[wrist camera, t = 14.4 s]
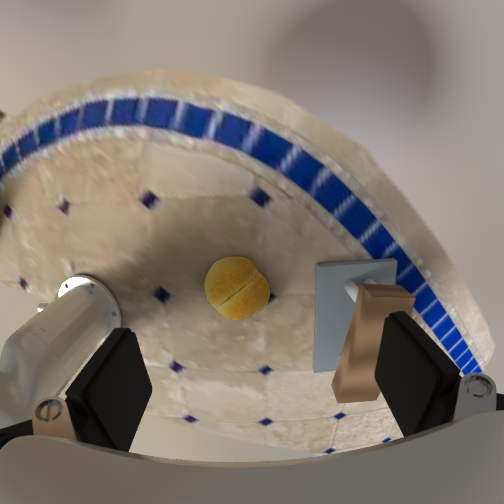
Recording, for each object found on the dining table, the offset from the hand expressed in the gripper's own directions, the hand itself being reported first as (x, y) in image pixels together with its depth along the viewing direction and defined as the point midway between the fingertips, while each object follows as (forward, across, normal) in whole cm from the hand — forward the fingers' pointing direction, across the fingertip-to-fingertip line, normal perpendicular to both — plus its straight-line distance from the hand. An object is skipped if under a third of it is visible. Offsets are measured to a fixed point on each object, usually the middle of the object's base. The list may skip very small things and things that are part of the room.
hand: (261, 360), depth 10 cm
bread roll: (+29, +3, +9) cm, 30 cm away
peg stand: (+28, -14, +15) cm, 35 cm away
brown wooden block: (+22, -14, +15) cm, 30 cm away
